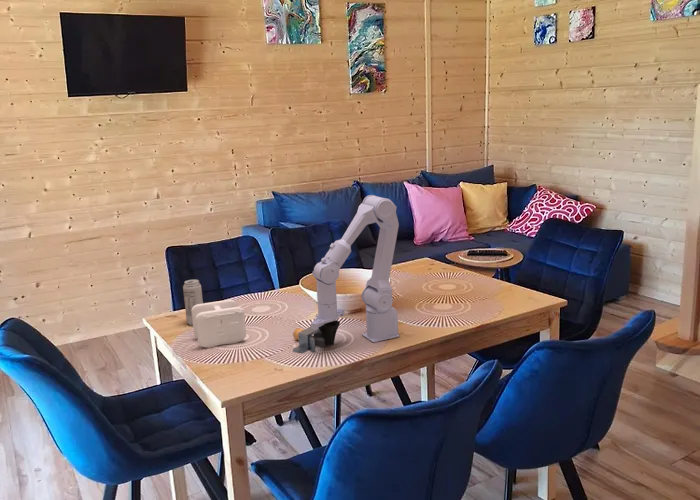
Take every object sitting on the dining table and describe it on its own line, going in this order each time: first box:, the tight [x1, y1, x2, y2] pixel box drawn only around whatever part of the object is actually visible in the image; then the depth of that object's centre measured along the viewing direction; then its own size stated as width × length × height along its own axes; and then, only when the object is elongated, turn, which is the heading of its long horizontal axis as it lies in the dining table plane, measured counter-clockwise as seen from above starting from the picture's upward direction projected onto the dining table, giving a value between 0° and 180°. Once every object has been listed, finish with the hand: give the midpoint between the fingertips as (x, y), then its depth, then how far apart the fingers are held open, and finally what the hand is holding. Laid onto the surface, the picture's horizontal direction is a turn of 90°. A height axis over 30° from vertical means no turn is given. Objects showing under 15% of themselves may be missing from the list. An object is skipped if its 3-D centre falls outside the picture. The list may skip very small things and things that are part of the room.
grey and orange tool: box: [292, 327, 329, 349], centre depth 201 cm, size 13×4×4 cm, turn 51°
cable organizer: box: [191, 299, 247, 349], centre depth 205 cm, size 15×11×12 cm
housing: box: [292, 326, 323, 354], centre depth 199 cm, size 6×15×5 cm, turn 146°
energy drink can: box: [182, 279, 204, 327], centre depth 222 cm, size 6×6×15 cm
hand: (329, 344), depth 197 cm, fingers closed
